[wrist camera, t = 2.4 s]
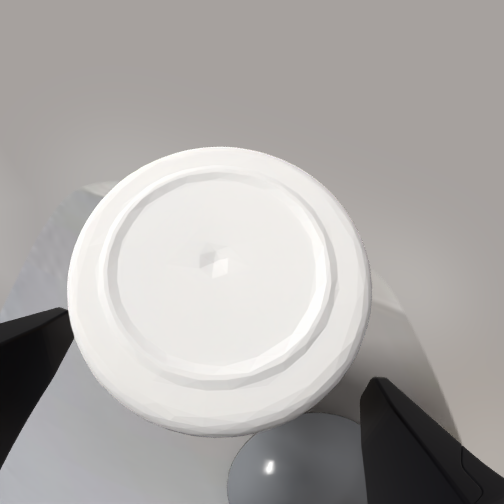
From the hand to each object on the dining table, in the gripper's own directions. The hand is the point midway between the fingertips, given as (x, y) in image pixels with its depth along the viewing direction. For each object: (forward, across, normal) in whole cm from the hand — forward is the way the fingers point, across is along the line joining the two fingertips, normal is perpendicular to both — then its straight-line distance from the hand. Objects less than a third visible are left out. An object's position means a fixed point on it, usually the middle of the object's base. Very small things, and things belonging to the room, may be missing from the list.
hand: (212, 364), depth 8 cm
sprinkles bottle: (+7, 0, +6) cm, 9 cm away
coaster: (+2, -6, +10) cm, 12 cm away
